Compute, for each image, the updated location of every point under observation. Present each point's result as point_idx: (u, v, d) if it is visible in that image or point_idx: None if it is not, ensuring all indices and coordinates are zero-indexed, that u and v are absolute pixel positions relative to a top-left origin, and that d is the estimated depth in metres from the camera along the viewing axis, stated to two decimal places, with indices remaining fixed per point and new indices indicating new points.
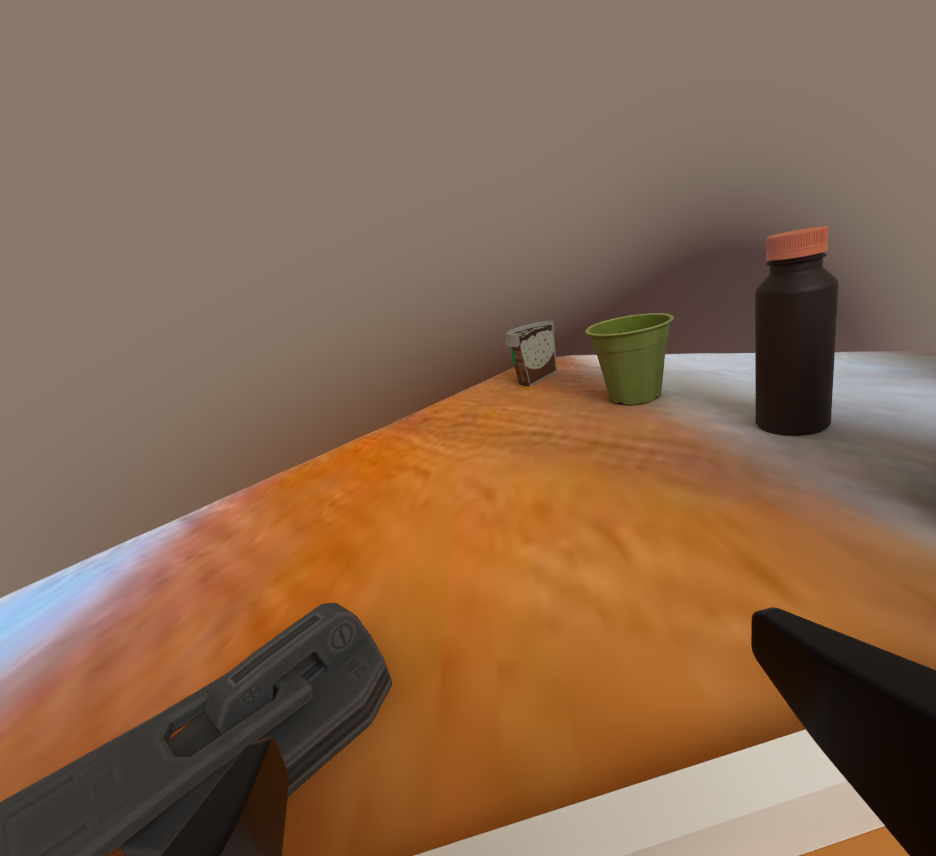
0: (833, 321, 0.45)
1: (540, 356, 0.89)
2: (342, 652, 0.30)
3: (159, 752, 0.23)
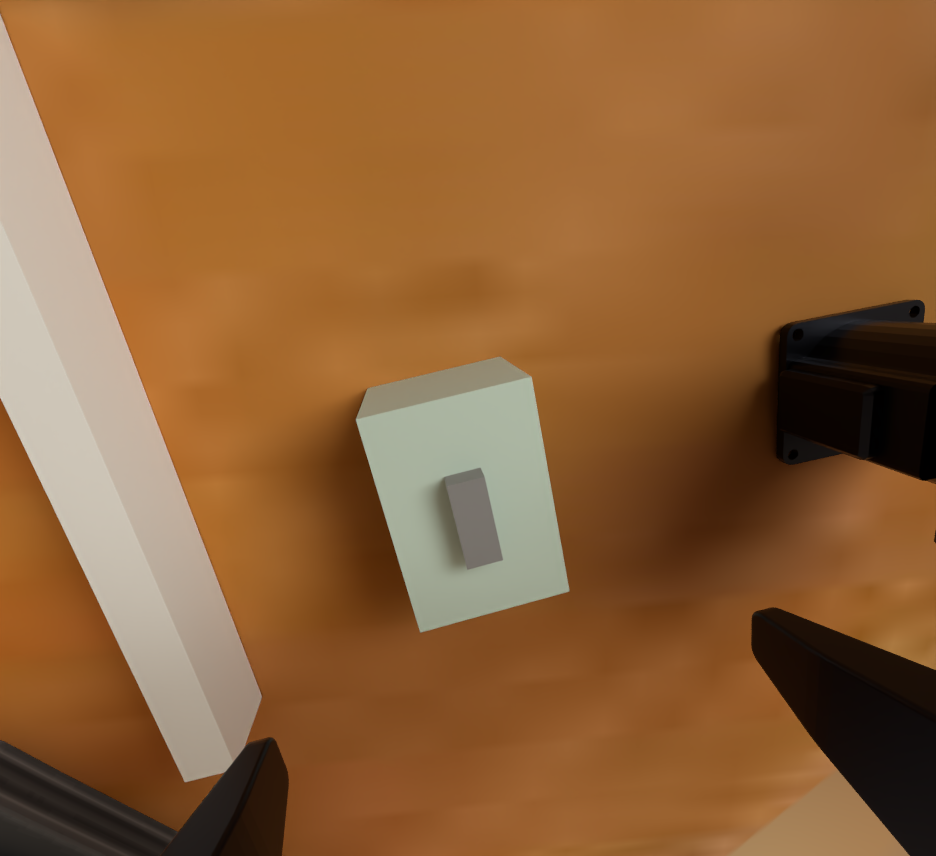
0: None
1: None
2: None
3: None
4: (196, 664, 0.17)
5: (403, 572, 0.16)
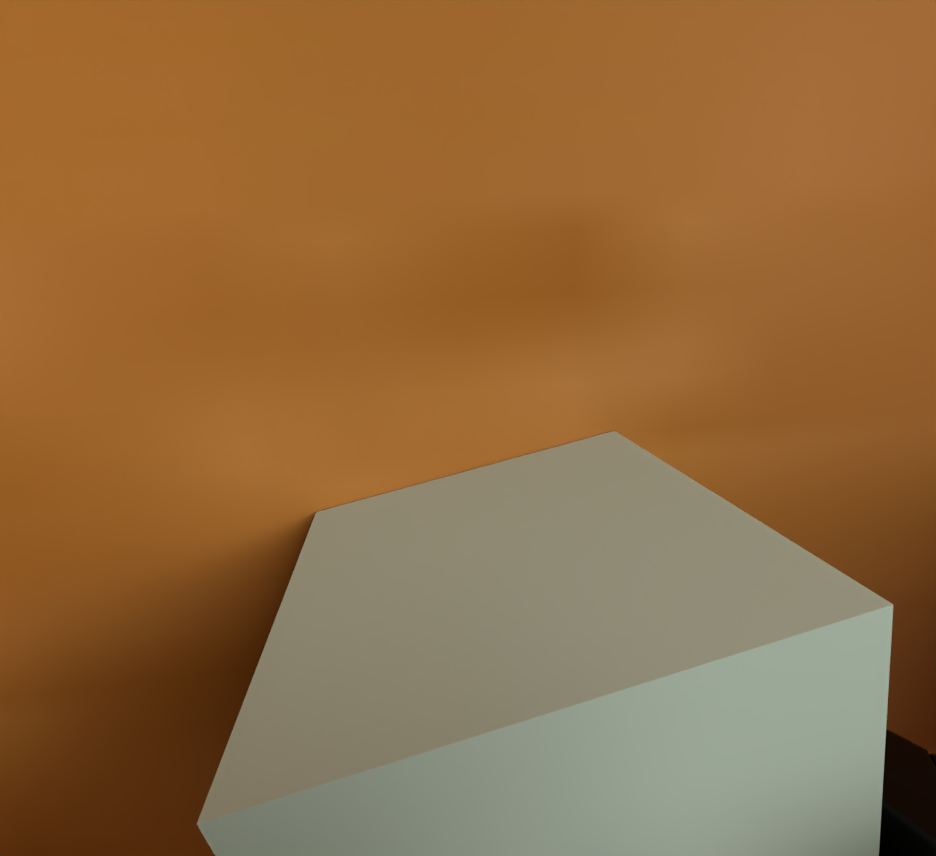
0: None
1: None
2: None
3: None
4: None
5: None
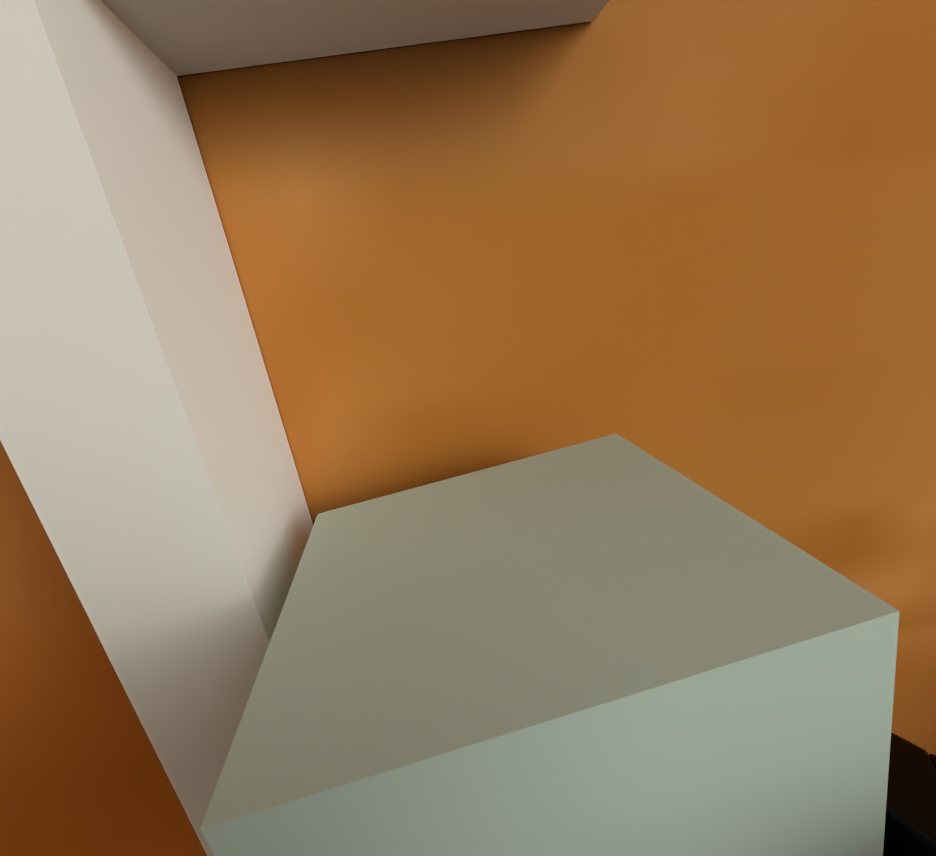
0: None
1: None
2: None
3: None
4: None
5: None
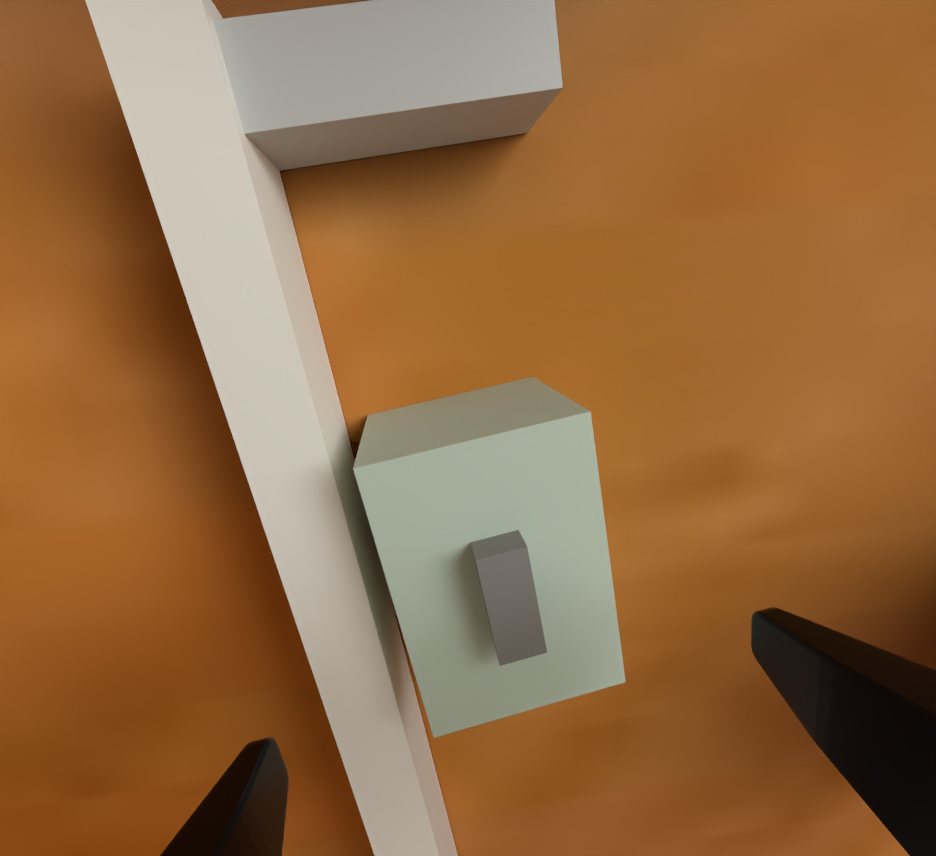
0: None
1: None
2: None
3: None
4: None
5: (413, 664, 0.12)
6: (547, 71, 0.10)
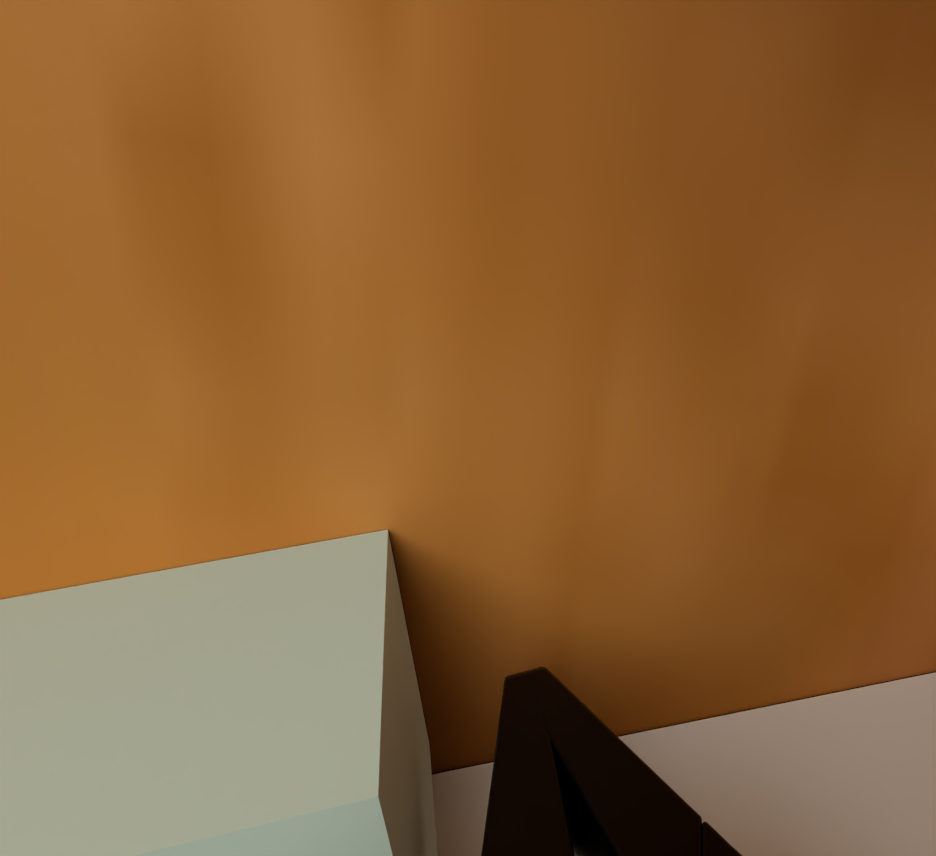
0: None
1: None
2: None
3: None
4: (926, 846, 0.09)
5: None
6: None
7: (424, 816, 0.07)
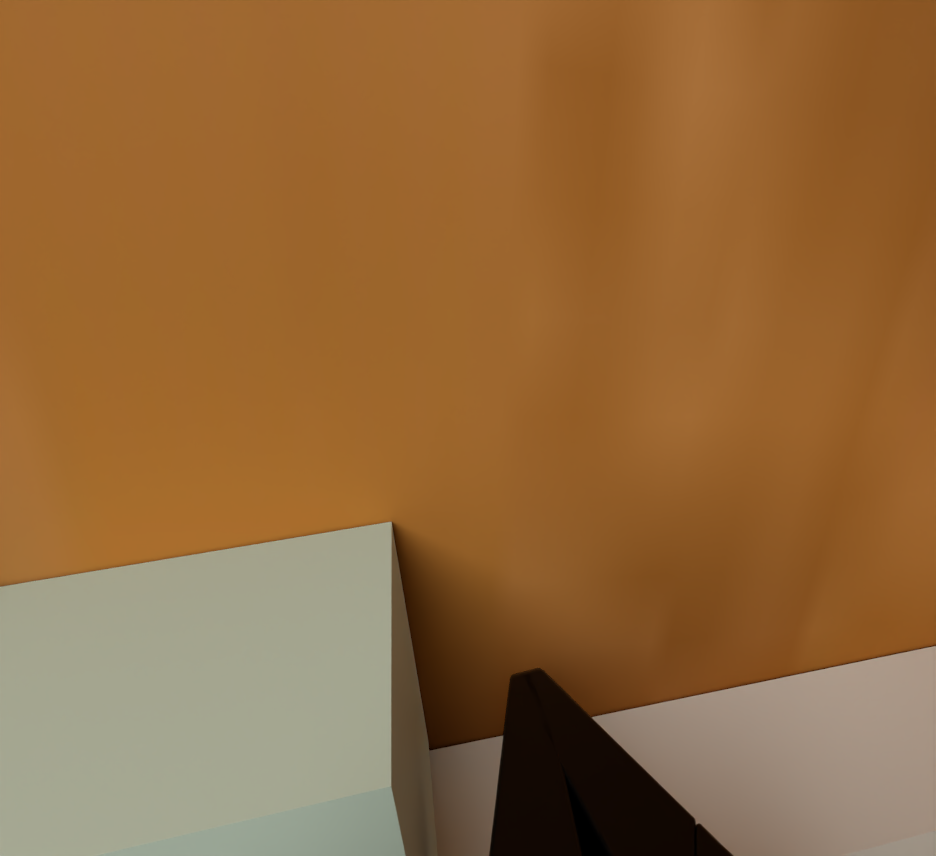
0: None
1: None
2: None
3: None
4: None
5: None
6: None
7: (426, 811, 0.07)
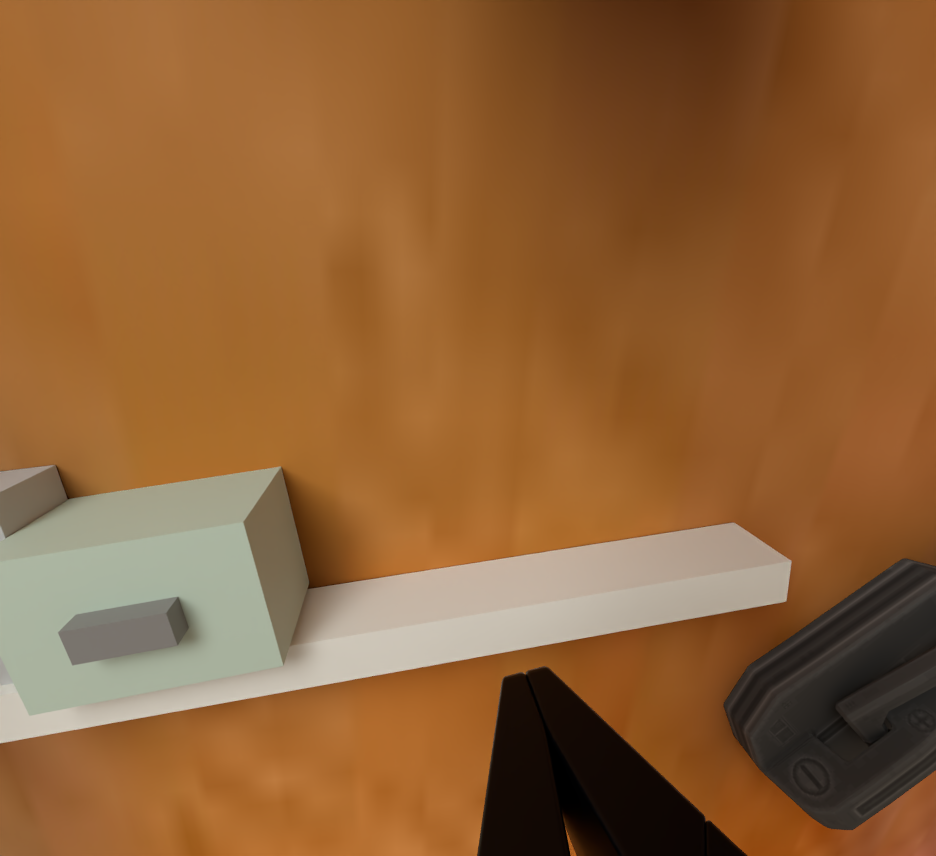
0: None
1: None
2: (799, 753, 0.24)
3: None
4: (675, 576, 0.19)
5: (207, 679, 0.16)
6: None
7: (286, 581, 0.17)
